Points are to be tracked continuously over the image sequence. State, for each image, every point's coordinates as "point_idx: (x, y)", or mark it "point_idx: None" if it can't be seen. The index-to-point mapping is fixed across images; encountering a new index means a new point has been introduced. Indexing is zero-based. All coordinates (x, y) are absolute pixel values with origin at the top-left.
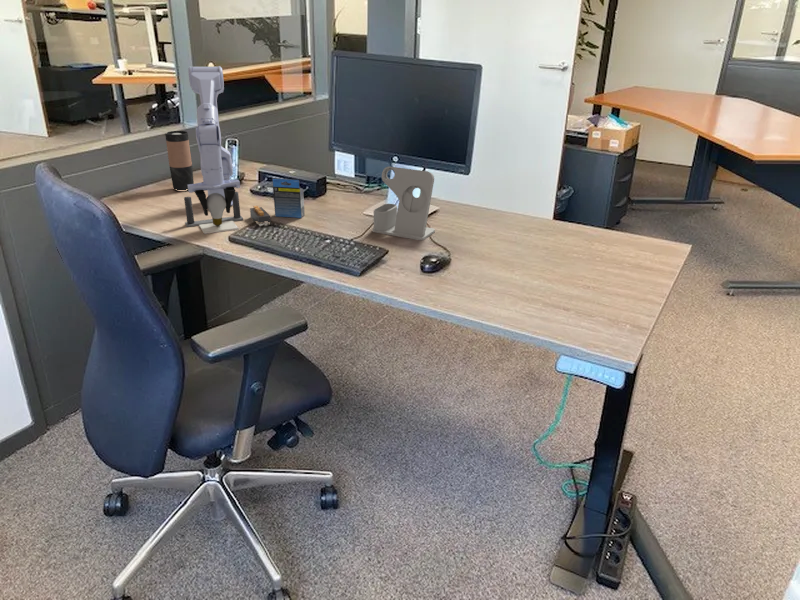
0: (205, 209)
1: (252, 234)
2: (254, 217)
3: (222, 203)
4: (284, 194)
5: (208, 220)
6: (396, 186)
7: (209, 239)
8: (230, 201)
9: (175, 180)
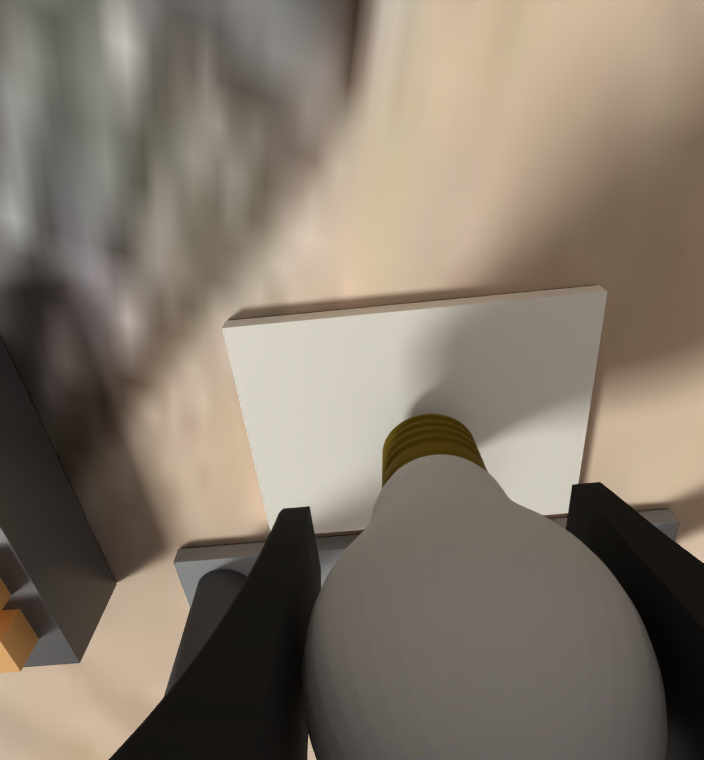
0: (654, 540)
1: (48, 69)
2: (45, 514)
3: (383, 597)
4: None
5: None
6: None
7: (614, 43)
8: (222, 646)
9: None
